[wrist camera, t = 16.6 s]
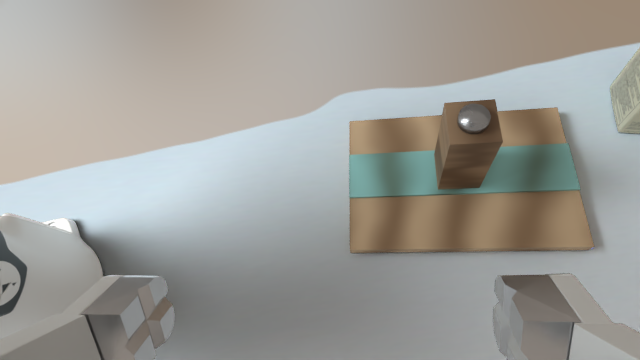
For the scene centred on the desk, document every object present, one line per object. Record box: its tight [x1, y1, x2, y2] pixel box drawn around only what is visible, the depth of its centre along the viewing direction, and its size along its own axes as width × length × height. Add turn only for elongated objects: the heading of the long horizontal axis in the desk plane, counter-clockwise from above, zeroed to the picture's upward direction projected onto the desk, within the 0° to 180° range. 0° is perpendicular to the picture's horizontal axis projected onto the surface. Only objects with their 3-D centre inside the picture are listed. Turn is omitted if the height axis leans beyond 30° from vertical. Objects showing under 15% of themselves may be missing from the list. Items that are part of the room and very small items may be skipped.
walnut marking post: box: [434, 100, 503, 189], centre depth 35 cm, size 4×4×10 cm
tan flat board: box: [349, 108, 594, 253], centre depth 40 cm, size 22×15×2 cm
